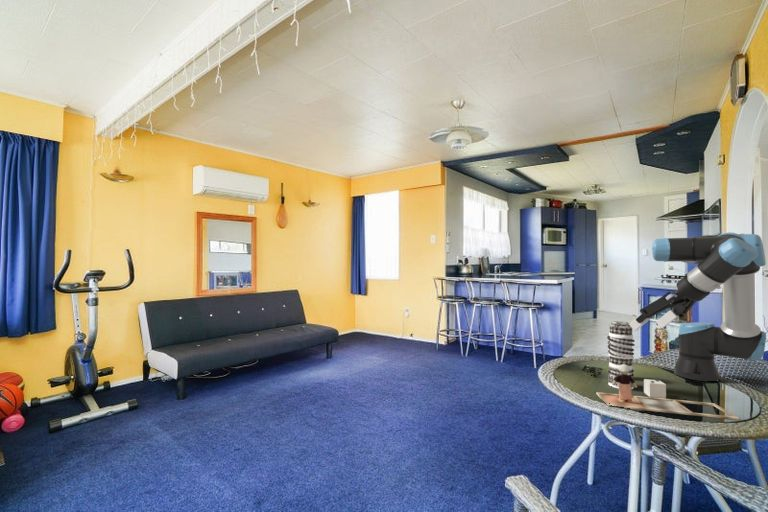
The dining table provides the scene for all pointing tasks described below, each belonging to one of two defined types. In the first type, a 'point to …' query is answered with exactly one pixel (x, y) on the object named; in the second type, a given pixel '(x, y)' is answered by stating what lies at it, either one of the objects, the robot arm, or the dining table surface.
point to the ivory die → (655, 388)
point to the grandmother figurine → (624, 384)
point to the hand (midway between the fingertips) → (645, 326)
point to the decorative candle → (620, 350)
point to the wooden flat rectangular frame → (661, 405)
